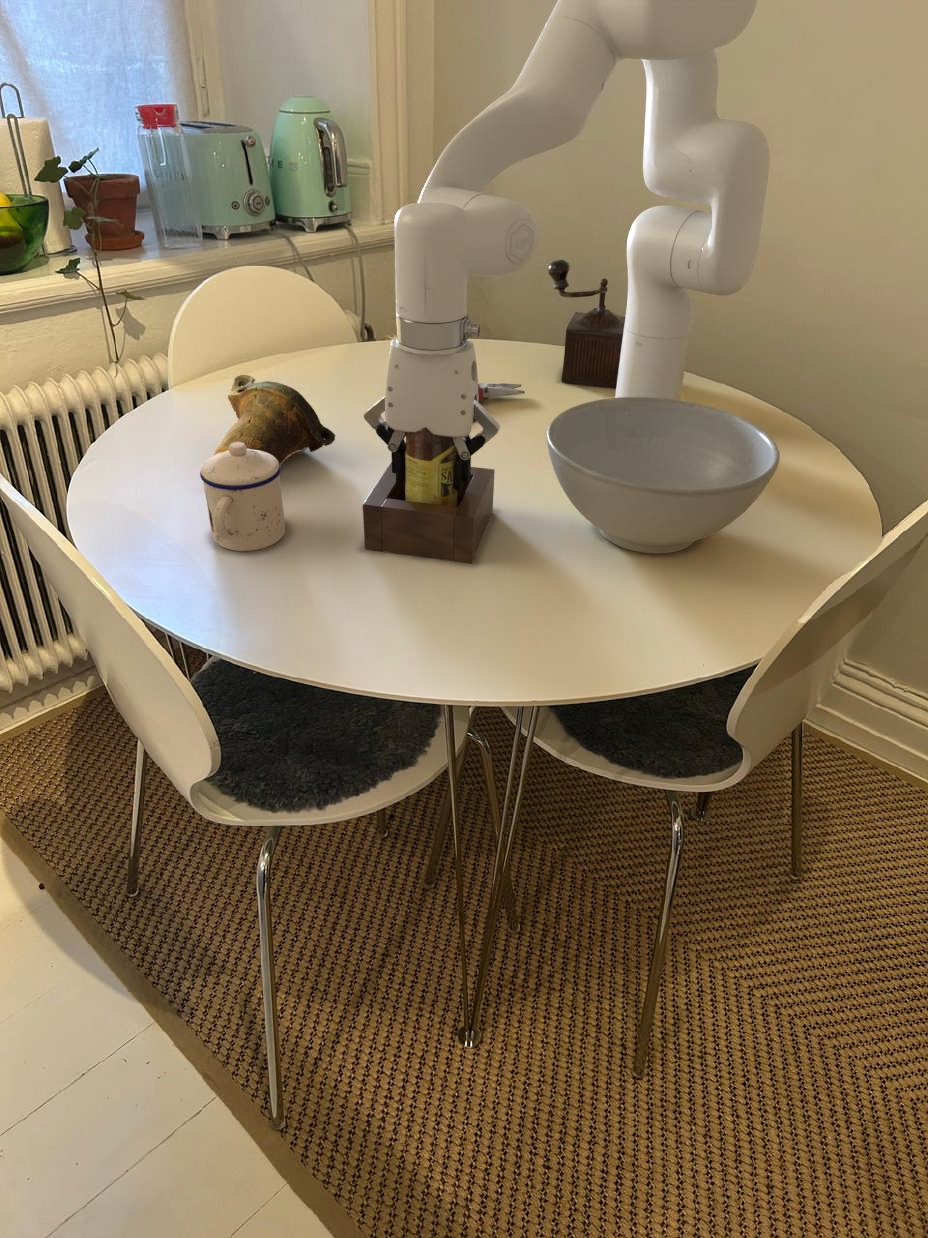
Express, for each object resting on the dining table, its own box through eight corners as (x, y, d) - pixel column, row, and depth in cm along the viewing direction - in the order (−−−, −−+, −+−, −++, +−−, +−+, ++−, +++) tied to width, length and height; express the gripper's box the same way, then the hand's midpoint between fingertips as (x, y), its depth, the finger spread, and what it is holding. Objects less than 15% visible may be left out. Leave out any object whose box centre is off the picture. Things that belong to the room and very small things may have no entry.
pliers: (530, 408, 141) (531, 393, 139) (406, 414, 137) (406, 398, 136) (514, 383, 150) (515, 368, 148) (398, 389, 147) (397, 373, 145)
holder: (492, 512, 112) (494, 469, 108) (471, 563, 101) (473, 518, 98) (394, 500, 114) (393, 457, 110) (364, 549, 103) (362, 504, 100)
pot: (160, 420, 111) (240, 339, 120) (169, 476, 120) (242, 397, 130) (277, 482, 109) (349, 395, 119) (277, 533, 119) (343, 449, 128)
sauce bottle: (450, 546, 105) (452, 385, 93) (399, 539, 106) (396, 379, 94) (461, 520, 110) (465, 364, 98) (413, 514, 111) (411, 359, 99)
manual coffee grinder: (627, 368, 158) (641, 263, 147) (620, 389, 149) (634, 279, 138) (542, 359, 161) (550, 255, 150) (530, 379, 152) (538, 270, 141)
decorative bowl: (772, 506, 115) (794, 419, 108) (736, 610, 95) (760, 511, 88) (577, 466, 124) (586, 383, 117) (507, 553, 103) (512, 459, 96)
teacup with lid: (229, 512, 110) (216, 425, 103) (298, 520, 109) (289, 432, 102) (187, 561, 100) (169, 468, 94) (262, 570, 99) (249, 477, 92)
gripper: (516, 327, 95) (508, 477, 106) (364, 314, 98) (370, 461, 108) (505, 349, 89) (497, 505, 100) (343, 334, 92) (351, 487, 102)
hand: (431, 481), depth 104 cm, fingers open, 6 cm apart
